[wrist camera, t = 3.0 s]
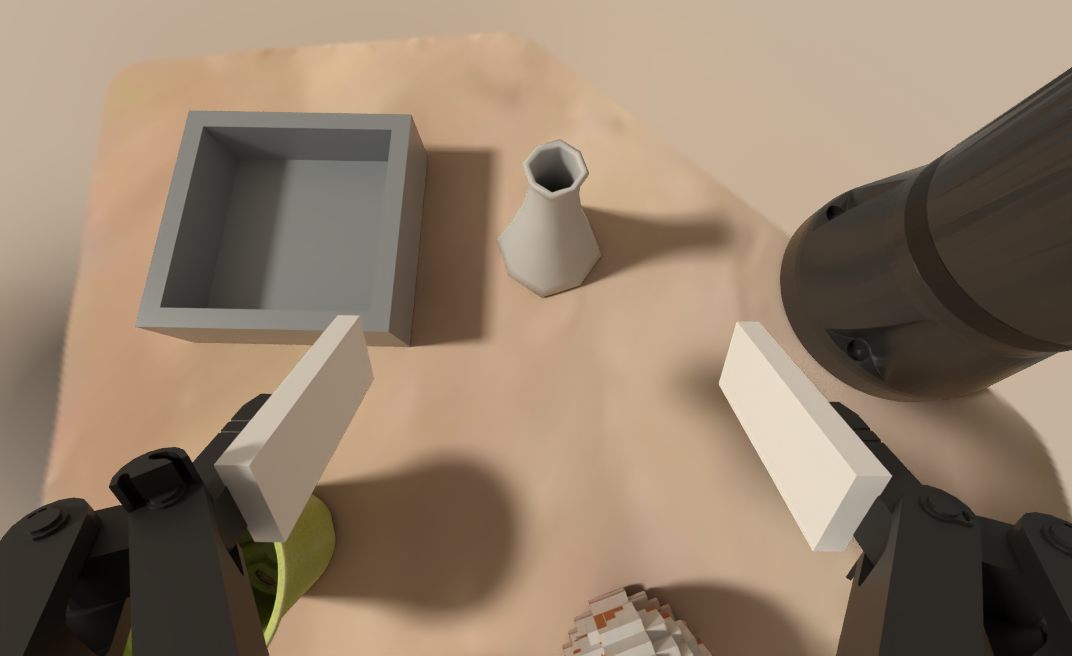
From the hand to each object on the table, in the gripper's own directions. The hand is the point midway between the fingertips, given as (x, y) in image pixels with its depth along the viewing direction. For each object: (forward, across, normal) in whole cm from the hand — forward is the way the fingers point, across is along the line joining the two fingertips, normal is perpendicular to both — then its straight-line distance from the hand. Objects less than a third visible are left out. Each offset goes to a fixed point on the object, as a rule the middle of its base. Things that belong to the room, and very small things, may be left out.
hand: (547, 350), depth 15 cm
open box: (+17, -17, -2) cm, 24 cm away
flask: (+17, 0, -3) cm, 18 cm away
